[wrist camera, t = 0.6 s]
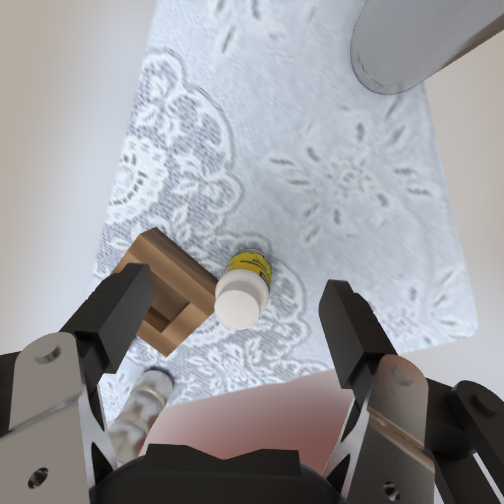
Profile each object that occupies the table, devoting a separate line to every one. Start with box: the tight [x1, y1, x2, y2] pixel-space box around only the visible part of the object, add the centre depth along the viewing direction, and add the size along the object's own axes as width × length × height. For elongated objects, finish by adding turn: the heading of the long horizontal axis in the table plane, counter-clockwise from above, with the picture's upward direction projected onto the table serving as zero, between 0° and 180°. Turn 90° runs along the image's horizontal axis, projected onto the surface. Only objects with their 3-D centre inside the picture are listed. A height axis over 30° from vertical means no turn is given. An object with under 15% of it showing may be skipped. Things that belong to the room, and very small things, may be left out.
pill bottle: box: [214, 249, 272, 330], centre depth 28 cm, size 6×6×11 cm
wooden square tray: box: [110, 227, 219, 357], centre depth 34 cm, size 14×14×4 cm
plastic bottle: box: [108, 370, 173, 468], centre depth 33 cm, size 6×7×20 cm
